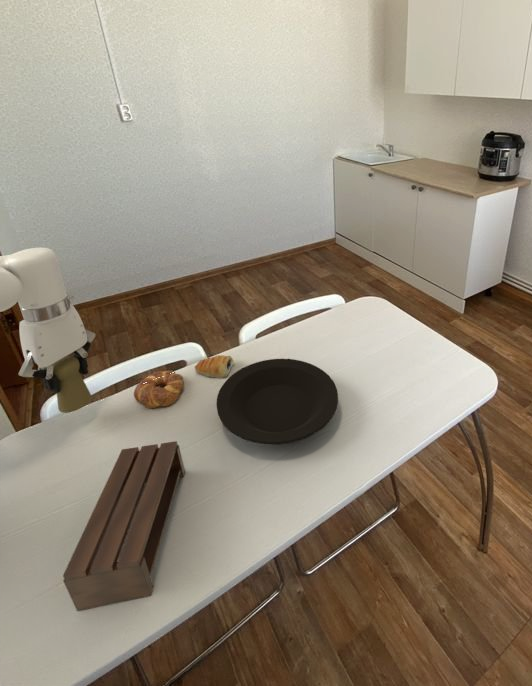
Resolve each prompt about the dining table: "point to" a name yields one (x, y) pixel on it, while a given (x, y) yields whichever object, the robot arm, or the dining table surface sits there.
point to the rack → (125, 528)
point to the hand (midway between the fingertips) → (68, 380)
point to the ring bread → (159, 389)
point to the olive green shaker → (70, 385)
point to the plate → (277, 401)
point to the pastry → (215, 366)
